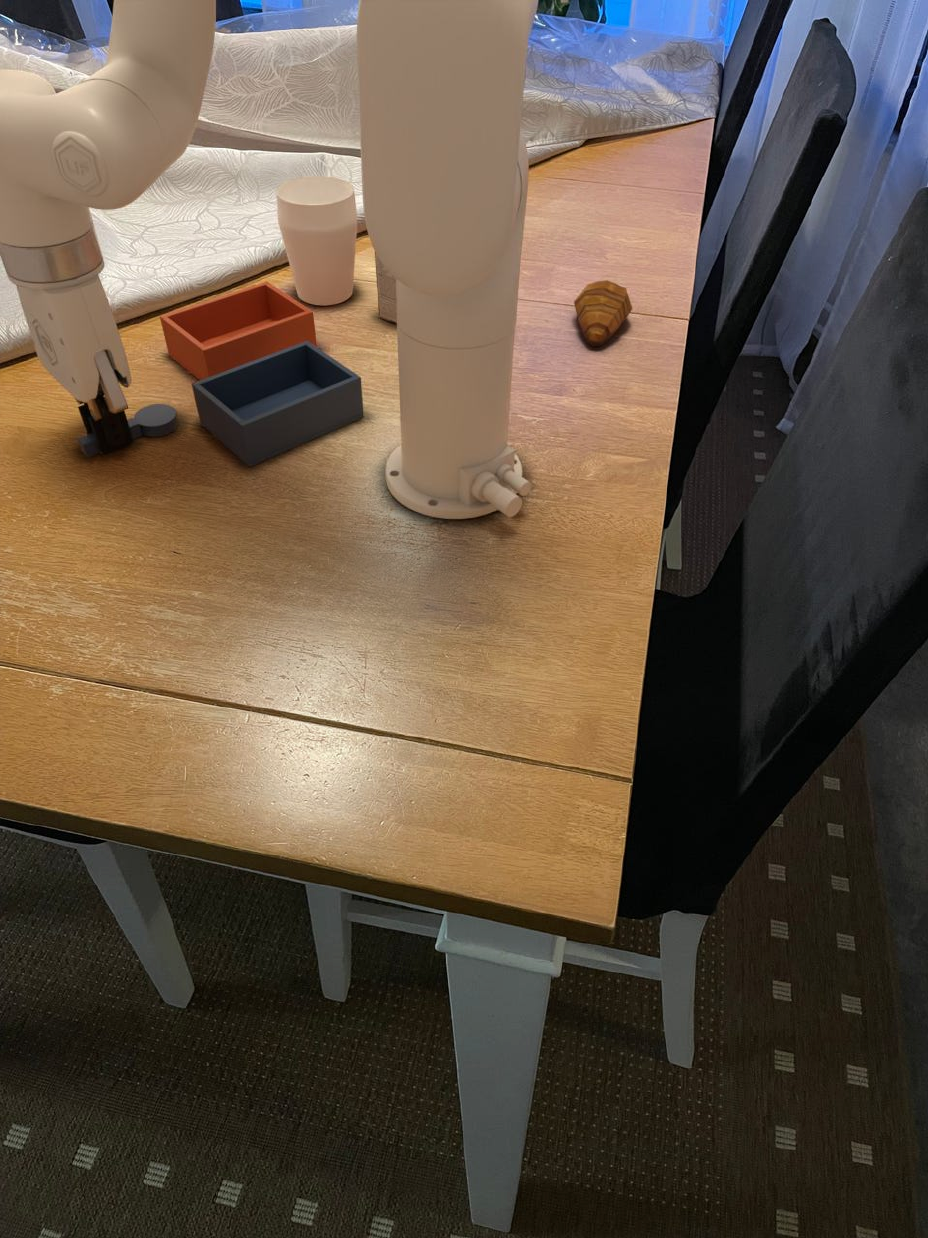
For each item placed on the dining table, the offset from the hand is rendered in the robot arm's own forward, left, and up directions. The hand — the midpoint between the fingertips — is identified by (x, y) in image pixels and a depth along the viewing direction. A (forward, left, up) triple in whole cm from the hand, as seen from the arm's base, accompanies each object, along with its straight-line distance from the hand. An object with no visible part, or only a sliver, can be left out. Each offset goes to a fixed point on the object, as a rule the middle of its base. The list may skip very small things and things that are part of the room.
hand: (111, 442), depth 84 cm
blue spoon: (0, -2, 0) cm, 2 cm away
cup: (+13, -34, 0) cm, 36 cm away
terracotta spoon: (+7, -19, 0) cm, 20 cm away
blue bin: (-7, -15, 0) cm, 16 cm away
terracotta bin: (+7, -19, 0) cm, 20 cm away
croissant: (-13, -55, 0) cm, 56 cm away
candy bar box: (+3, -41, 0) cm, 41 cm away
